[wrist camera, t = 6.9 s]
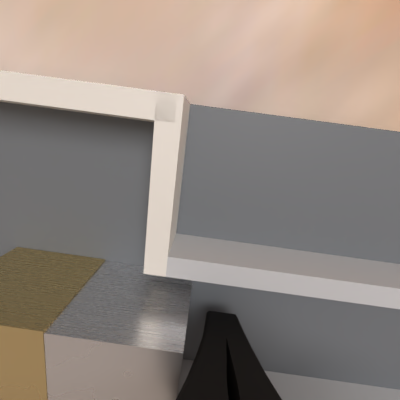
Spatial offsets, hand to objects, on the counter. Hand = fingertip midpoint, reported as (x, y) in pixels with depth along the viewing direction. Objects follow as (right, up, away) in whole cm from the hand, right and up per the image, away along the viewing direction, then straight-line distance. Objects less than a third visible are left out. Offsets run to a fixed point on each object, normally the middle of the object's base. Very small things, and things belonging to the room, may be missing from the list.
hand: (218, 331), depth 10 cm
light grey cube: (-3, +1, +1) cm, 4 cm away
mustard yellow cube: (-7, +1, +1) cm, 7 cm away
